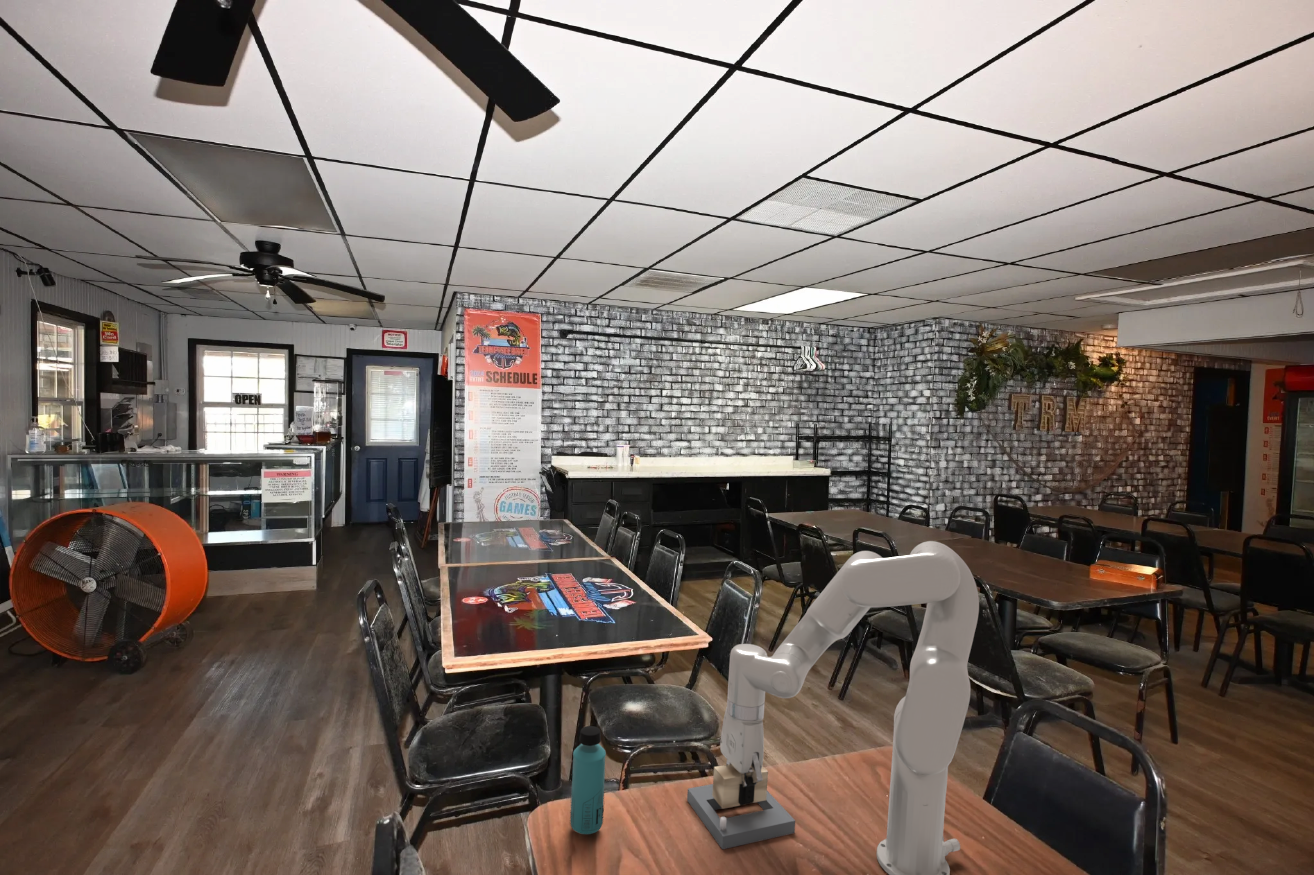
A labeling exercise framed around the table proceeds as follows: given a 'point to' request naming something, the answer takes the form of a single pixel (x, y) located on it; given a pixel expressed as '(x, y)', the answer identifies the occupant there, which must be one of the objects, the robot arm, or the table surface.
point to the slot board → (740, 819)
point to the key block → (735, 786)
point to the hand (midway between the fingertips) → (739, 794)
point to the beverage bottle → (588, 782)
